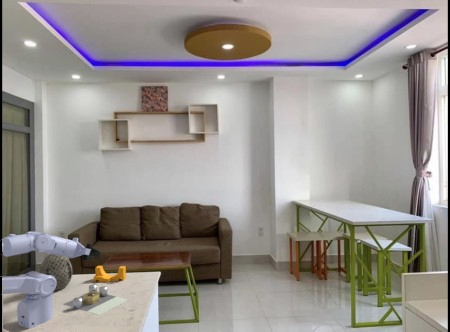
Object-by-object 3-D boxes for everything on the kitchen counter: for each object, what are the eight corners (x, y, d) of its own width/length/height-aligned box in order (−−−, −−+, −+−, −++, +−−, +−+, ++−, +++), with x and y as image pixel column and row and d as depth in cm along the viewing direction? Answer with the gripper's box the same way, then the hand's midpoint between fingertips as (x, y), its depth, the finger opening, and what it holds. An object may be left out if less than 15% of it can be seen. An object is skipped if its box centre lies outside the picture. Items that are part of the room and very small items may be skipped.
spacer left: (77, 310, 116) (77, 301, 115) (71, 308, 117) (71, 299, 117) (84, 306, 118) (84, 298, 118) (78, 305, 119) (78, 296, 119)
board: (99, 318, 112) (99, 315, 112) (63, 306, 120) (63, 304, 120) (128, 302, 123) (128, 299, 123) (93, 293, 132) (93, 290, 132)
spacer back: (92, 295, 127) (92, 287, 127) (87, 294, 128) (87, 286, 128) (98, 292, 130) (98, 285, 129) (93, 291, 131) (93, 283, 131)
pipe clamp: (93, 284, 141) (93, 269, 141) (98, 280, 146) (98, 265, 145) (122, 285, 140) (121, 269, 140) (125, 281, 144) (125, 266, 144)
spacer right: (103, 297, 125) (102, 289, 125) (97, 296, 126) (97, 288, 126) (109, 294, 128) (108, 287, 127) (103, 293, 129) (103, 285, 129)
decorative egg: (64, 296, 130) (62, 257, 129) (33, 296, 130) (32, 257, 129) (78, 284, 141) (76, 248, 141) (49, 284, 142) (48, 248, 141)
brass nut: (89, 305, 118) (89, 298, 118) (79, 303, 121) (79, 295, 121) (102, 299, 124) (102, 292, 123) (93, 296, 126) (92, 290, 126)
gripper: (78, 236, 114) (108, 244, 125) (51, 233, 121) (82, 240, 132) (71, 258, 111) (103, 264, 122) (44, 253, 118) (76, 259, 129)
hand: (92, 253), depth 127 cm, fingers open, 7 cm apart
